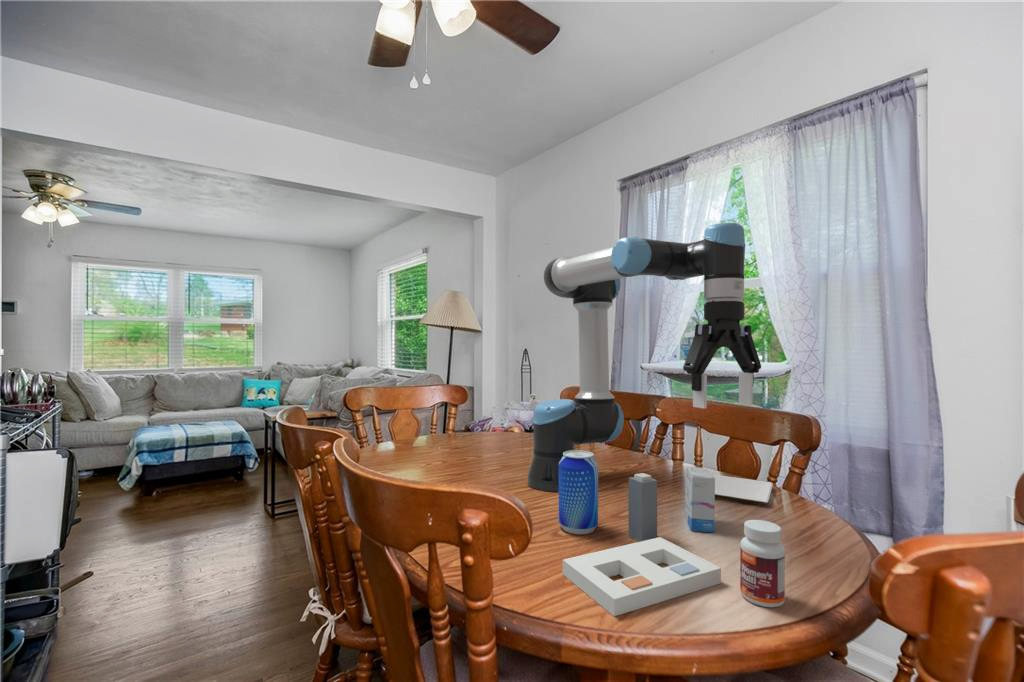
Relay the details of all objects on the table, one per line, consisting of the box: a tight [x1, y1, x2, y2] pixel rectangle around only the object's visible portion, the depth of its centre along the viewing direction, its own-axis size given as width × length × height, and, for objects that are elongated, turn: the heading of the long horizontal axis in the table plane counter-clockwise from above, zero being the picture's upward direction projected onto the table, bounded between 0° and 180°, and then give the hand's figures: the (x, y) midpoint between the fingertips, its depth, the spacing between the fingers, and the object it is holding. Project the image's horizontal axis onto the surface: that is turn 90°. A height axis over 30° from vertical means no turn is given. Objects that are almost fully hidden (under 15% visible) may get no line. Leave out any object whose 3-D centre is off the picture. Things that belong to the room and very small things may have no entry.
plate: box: [711, 473, 774, 505], centre depth 127 cm, size 19×19×2 cm
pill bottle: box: [739, 519, 786, 608], centre depth 74 cm, size 6×6×11 cm
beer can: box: [558, 449, 599, 535], centre depth 102 cm, size 8×8×16 cm
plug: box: [628, 472, 658, 542], centre depth 97 cm, size 4×4×13 cm
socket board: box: [562, 536, 722, 617], centre depth 80 cm, size 14×22×3 cm, turn 116°
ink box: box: [684, 466, 716, 533], centre depth 104 cm, size 9×5×12 cm, turn 168°
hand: (723, 405), depth 96 cm, fingers open, 13 cm apart
